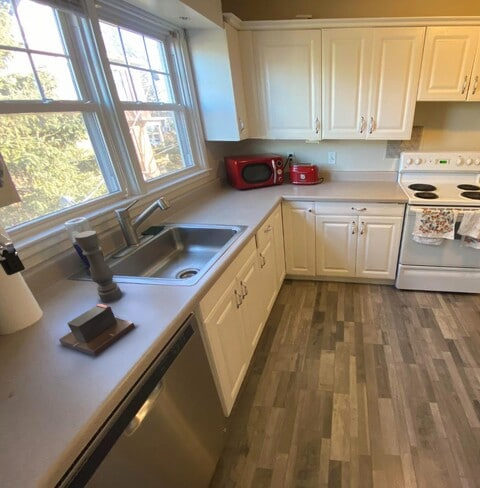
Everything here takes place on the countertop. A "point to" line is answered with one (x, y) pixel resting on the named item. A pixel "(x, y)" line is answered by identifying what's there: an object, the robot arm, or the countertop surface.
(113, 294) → the candle holder
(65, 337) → the stand
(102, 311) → the clock
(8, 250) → the robot arm
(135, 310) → the countertop surface
